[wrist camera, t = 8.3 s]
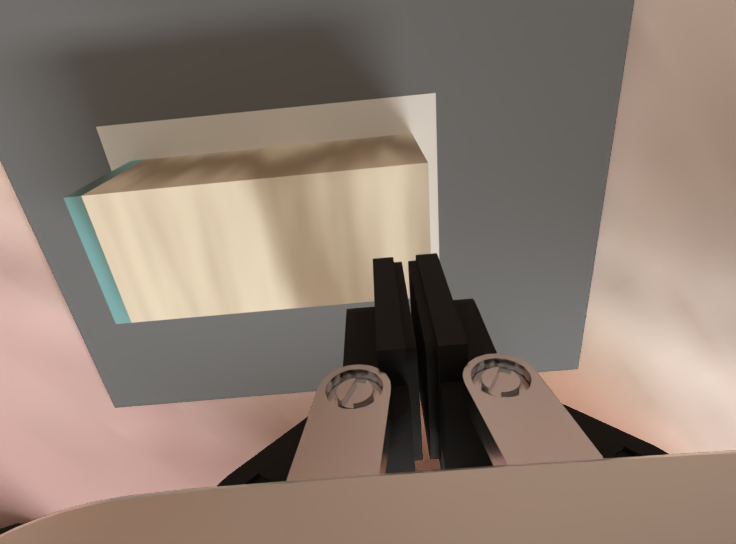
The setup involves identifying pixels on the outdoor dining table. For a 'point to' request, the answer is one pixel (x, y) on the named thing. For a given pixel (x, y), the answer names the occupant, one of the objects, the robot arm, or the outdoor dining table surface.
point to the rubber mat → (323, 124)
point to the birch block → (253, 227)
